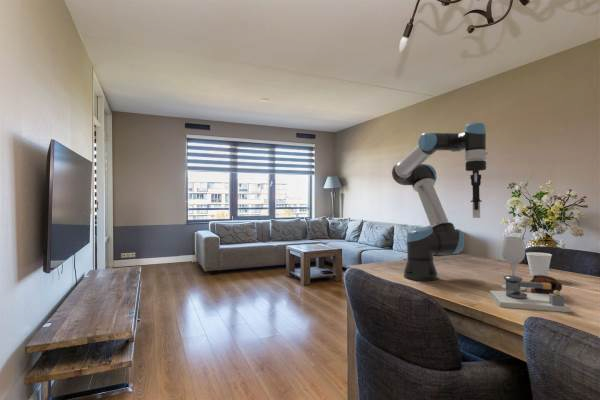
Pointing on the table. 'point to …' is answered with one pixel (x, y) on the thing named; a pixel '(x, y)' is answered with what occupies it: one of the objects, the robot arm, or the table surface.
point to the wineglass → (513, 253)
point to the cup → (538, 263)
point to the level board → (532, 301)
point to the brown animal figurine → (546, 279)
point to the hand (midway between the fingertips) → (476, 217)
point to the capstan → (516, 282)
